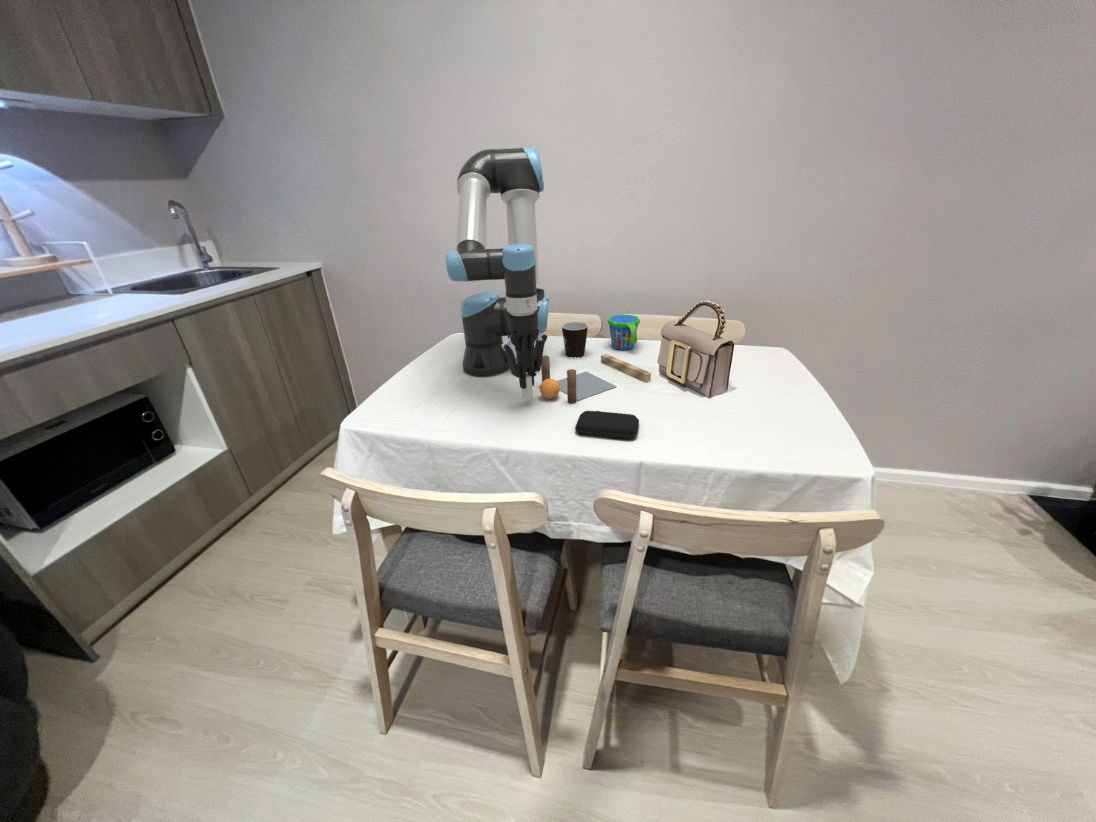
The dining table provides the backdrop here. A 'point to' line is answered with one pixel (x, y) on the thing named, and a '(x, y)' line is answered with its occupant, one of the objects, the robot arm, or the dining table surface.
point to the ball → (549, 388)
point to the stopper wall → (626, 368)
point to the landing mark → (586, 385)
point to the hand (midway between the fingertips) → (527, 397)
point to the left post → (545, 368)
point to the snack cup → (623, 331)
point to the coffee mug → (574, 338)
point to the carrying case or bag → (607, 425)
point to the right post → (571, 385)
